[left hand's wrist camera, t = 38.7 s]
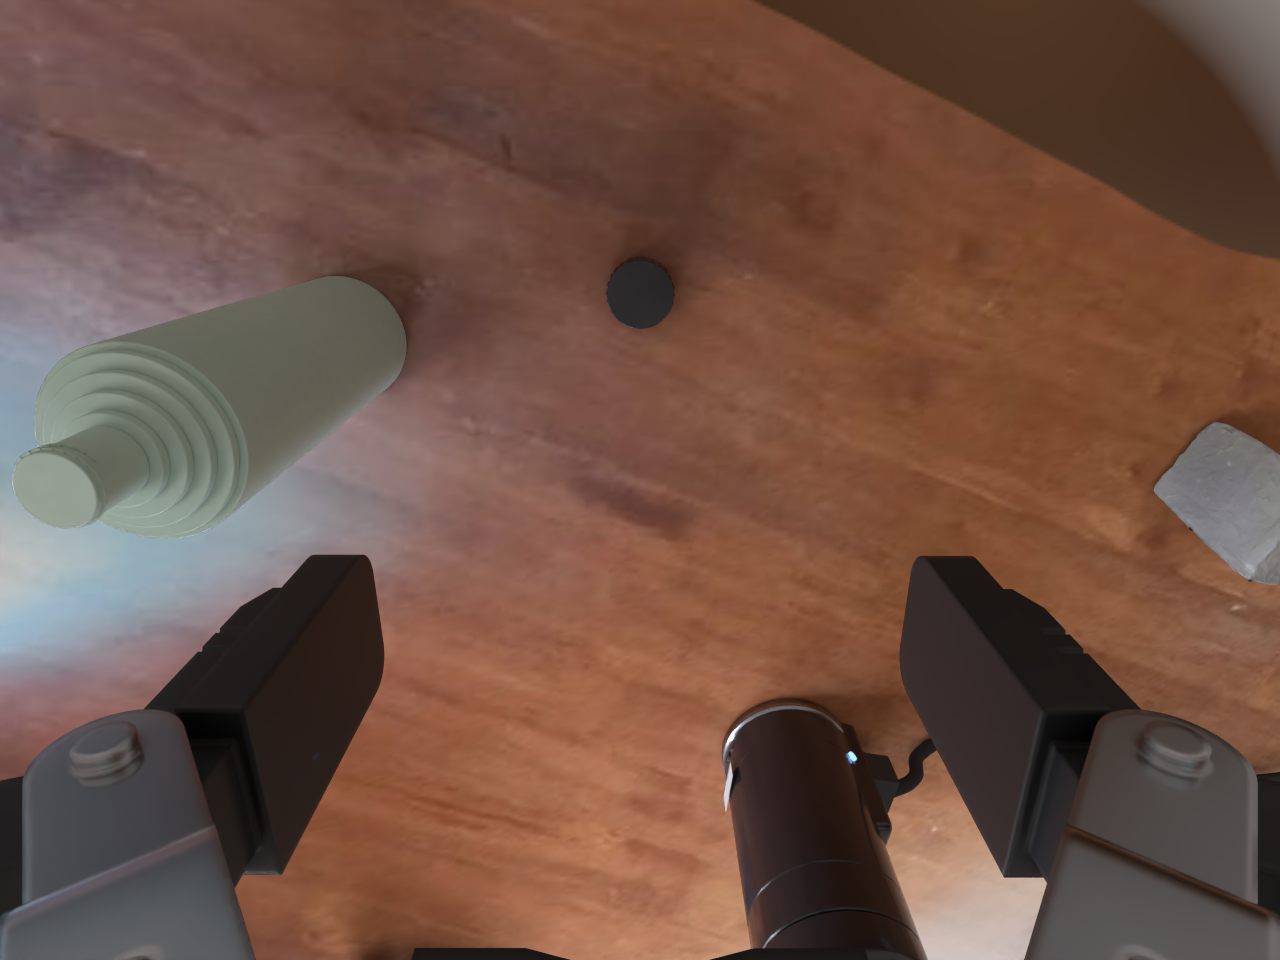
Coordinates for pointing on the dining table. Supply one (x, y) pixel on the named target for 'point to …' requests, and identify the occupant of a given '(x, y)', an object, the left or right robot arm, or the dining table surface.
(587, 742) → the dining table surface
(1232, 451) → the mineral specimen
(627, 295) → the cap
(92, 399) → the bottle
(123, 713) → the left robot arm
